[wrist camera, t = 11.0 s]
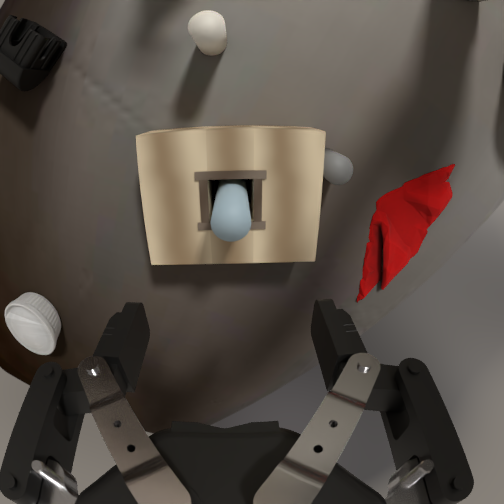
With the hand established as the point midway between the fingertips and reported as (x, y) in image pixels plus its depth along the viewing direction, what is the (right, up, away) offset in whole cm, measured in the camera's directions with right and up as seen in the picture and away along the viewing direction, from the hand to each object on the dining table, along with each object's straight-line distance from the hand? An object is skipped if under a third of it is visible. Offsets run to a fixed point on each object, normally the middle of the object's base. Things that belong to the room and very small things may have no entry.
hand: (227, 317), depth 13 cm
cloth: (+23, +7, +25) cm, 35 cm away
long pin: (-1, +11, +21) cm, 23 cm away
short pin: (+10, +14, +20) cm, 26 cm away
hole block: (-1, +11, +21) cm, 23 cm away
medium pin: (-3, +26, +13) cm, 29 cm away
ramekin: (-36, -8, +28) cm, 47 cm away
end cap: (-27, +29, +10) cm, 41 cm away
